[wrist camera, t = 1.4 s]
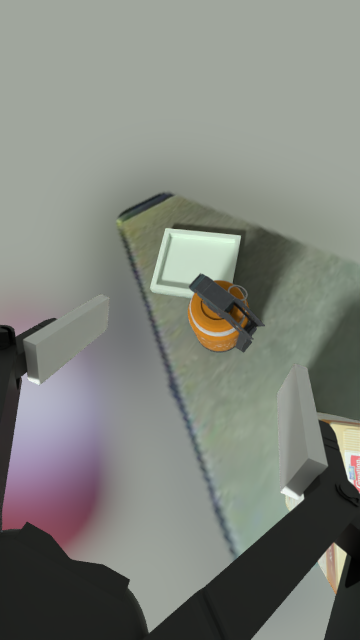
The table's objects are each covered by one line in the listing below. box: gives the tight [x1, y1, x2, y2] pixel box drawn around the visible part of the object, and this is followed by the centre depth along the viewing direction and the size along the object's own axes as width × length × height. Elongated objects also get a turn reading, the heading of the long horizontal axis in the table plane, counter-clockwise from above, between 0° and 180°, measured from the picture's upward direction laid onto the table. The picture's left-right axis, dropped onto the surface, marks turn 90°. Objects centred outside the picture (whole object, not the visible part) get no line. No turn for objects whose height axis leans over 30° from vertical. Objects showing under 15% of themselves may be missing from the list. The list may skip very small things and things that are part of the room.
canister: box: [188, 273, 265, 352], centre depth 39 cm, size 9×11×20 cm
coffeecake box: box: [286, 412, 360, 594], centre depth 32 cm, size 15×7×20 cm, turn 175°
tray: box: [150, 228, 241, 298], centre depth 52 cm, size 16×14×2 cm
